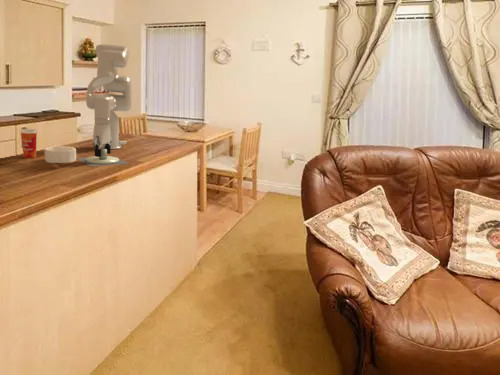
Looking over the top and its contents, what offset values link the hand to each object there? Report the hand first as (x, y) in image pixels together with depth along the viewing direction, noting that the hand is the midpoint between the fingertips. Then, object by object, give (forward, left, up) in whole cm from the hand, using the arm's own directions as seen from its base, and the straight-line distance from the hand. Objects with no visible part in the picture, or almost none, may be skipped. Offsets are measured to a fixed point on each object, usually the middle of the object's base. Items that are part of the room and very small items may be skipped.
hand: (102, 155), depth 220 cm
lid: (0, 0, -3) cm, 3 cm away
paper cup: (+29, -22, -4) cm, 37 cm away
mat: (0, 0, -4) cm, 4 cm away
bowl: (+18, -9, -4) cm, 20 cm away
